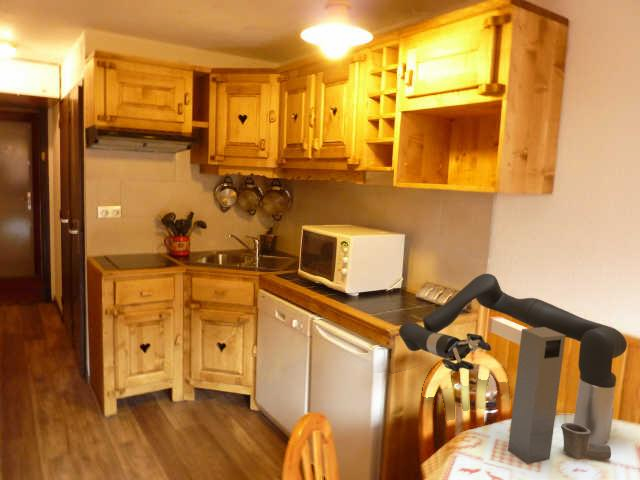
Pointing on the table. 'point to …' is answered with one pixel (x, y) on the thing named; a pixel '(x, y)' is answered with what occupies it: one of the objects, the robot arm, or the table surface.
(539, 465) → the table surface
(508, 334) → the block
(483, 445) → the table surface
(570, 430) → the pipe
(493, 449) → the table surface
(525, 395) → the grey tall rectangular block
